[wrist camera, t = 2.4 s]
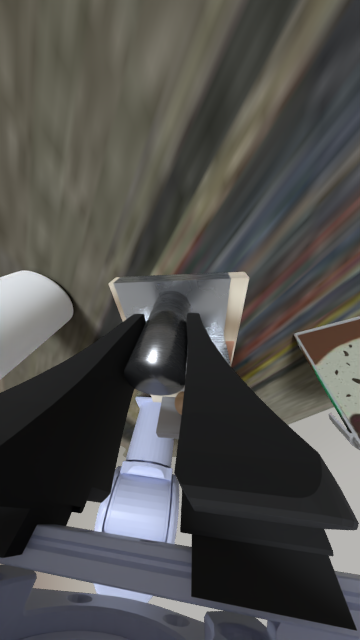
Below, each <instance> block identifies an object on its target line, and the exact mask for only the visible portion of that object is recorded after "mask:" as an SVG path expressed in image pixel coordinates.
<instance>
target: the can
mask: <svg viewBox="0 0 360 640" xmlns="http://www.w3.org/2000/svg"><path fill="white" fill-rule="evenodd" d="M72 316H73V304H72V301H71V299H70V297H69V296H68V294H67V293H66V292H65V291H64V289H63V288H62V287H61V286H59V285H58V284H57V283H56V282H54V281H53V280H51V279H50V278H48V277H46V276H43V275H41V274H38V273H35V272H31V271H19V272H15V273H12V274H9V275H6V276H3V277H0V379H2V378H3V377H4V376H5V375H6V374H7V373H9V372H10V371H11V370H12V369H13V368H15V367H16V366H17V365H18V364H19V363H20V362H22V361H23V360H24V359H25V358H26V357H27V356H29V355H30V354H31V353H32V352H33V351H34V350H36V349H37V348H38V347H39V346H40V345H41V344H43V343H44V342H45V341H46V340H47V339H48V338H50V337H51V336H52V335H53V334H54V333H55V332H56V331H58V330H59V329H60V328H61V327H62V326H63V325H65V324H66V323H67V322H68V321H69V320H70V319H71V318H72Z"/></svg>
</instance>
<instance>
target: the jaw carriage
mask: <svg viewBox="0 0 360 640" xmlns="http://www.w3.org/2000/svg"><path fill="white" fill-rule="evenodd" d="M230 282H231V278H230V276H229V274H228V272H224V273H202V274H179V275H157V276H134V277H120V278H119V279H118V280H116V281H115V282H114V283H113V284H114V287H115V289H116V292H117V295H118V298H119V301H120V303H121V306H122V309H123V312H124V315H125V317H126V319H127V318H129V317H130V316H132V315H133V314H144V316H145V320H146V324H145V326H144V328H143V330H142V332H141V335H140V337H139V339H138V341H137V343H136V346H135V348H134V350H133V352H132V354H131V357H130V359H129V361H128V363H127V366H126V368H125V370H124V377H125V379H126V381H127V382H128V383H129V384H130V385H131V386H132V387H134V388H135V389H137V390H139V391H141V392H144V393H147V394H151V395H159V396H165V395H172V394H175V393H177V392H179V391H181V390H182V389H183V387H184V386H185V377H186V368H187V356H188V338H187V322H186V319H187V313H199V314H200V317H201V320H202V323H203V325H204V327H205V329H206V331H207V333H208V335H209V336H210V338H211V340H212V341H213V343H214V345H215V346H216V348H217V349H218V351H219V352H220V353H221V355H222V356H223V357H224V359H225V360H226V361H227V363H228V364H229V365H230V359H229V355H228V350H227V346H226V342H225V337H224V328H225V320H226V313H227V305H228V298H229V290H230Z"/></svg>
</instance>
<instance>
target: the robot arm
mask: <svg viewBox="0 0 360 640" xmlns="http://www.w3.org/2000/svg"><path fill="white" fill-rule="evenodd" d="M186 322H187V338H188V356H187V368H186V378H185V388H184V397H183V407H182V416H181V424H180V432H179V440H178V449H177V457H176V464H175V472H174V473H175V475H173V474H172V468H171V462H172V453H173V443H174V439H172V438H160V437H158V436H157V434H156V429H157V424H158V418H159V413H160V407H161V402H153V400H152V398H151V397H136V398H135V400H136V402H137V404H138V406H139V407H140V411H139V415H138V418H137V422H136V426H135V429H134V433H133V436H132V440H131V443H130V447H129V450H128V454H127V457H126V461H123V464H122V466H118V467H117V468H116V462H117V457H118V453H119V448H120V443H121V439H122V434H123V430H124V425H125V421H126V417H127V413H128V409H129V405H130V402H131V398H132V394H133V391H134V387H132V386H131V385H130V384H129V383H128V382H127V381H126V379H125V377H124V370H125V368H126V366H127V363H128V361H129V359H130V357H131V354H132V352H133V350H134V348H135V346H136V343H137V341H138V339H139V337H140V335H141V332H142V330H143V328H144V326H145V324H146V320H145V316H144V314H133V315H132V316H130V317H129V318H127V319H126V320H125V321H123V322H122V323H121V324H120V325H118V326H117V327H116V328H114V329H113V330H112V331H110V332H109V333H108V334H106V335H105V336H103V337H102V338H100V339H99V340H98V341H96V342H95V343H93V344H92V345H90V346H89V347H87V348H86V349H84V350H83V351H81V352H79V353H78V354H76V355H74V356H73V357H71V358H69V359H68V360H66V361H64V362H62V363H60V364H59V365H57V366H55V367H53V368H51V369H49V370H47V371H45V372H43V373H41V374H39V375H38V376H36V377H34V378H32V379H29V380H27V381H25V382H23V383H21V384H19V385H17V386H15V387H12V388H10V389H8V390H6V391H4V392H1V393H0V563H1V564H5V565H0V640H360V575H356V574H350V573H344V572H338V571H334V569H333V566H332V564H331V561H330V559H329V556H333V550H332V548H331V545H330V543H329V540H328V538H327V535H326V533H325V530H324V529H340V530H357V528H358V524H359V523H358V521H357V519H356V517H355V515H354V513H353V511H352V509H351V508H350V506H349V504H348V502H347V500H346V498H345V496H344V495H343V492H342V490H341V489H340V487H339V485H338V484H337V482H336V481H335V479H334V477H333V475H332V474H331V472H330V471H329V469H328V467H327V466H326V464H325V463H324V461H323V459H322V458H321V456H320V454H319V453H318V452H317V451H316V450H315V449H313V448H312V447H311V446H310V445H309V444H308V443H307V442H306V441H304V440H303V439H302V438H301V437H300V436H299V435H298V434H297V433H296V432H294V431H293V430H292V429H291V428H290V427H289V426H288V425H287V424H286V423H285V422H284V421H283V420H281V419H280V418H279V417H278V416H277V415H276V414H275V413H274V412H273V411H272V410H271V409H270V408H269V407H268V406H267V405H266V404H265V403H264V402H263V401H262V400H261V399H260V398H259V397H258V396H257V395H256V394H255V393H254V392H253V391H252V390H251V389H250V388H249V387H248V386H247V384H246V383H245V382H244V381H243V380H242V379H241V378H240V377H239V376H238V375H237V373H236V372H235V371H234V370H233V369H232V368H231V366H230V365H229V364H228V363H227V361H226V360H225V359H224V357H223V356H222V355H221V353H220V352H219V351H218V349H217V348H216V346H215V345H214V343H213V341H212V340H211V338H210V336H209V335H208V333H207V331H206V329H205V327H204V325H203V323H202V320H201V317H200V314H199V313H187V319H186ZM115 468H116V469H115ZM176 477H177V478H176ZM177 479H178V480H177ZM179 484H180V486H181V488H182V507H181V527H180V530H181V532H182V533H188V534H192V547H189V546H182V545H177V544H174V543H175V542H174V541H175V537H176V530H177V522H178V509H179ZM86 501H93V502H100V503H101V504H100V507H99V511H98V514H97V518H96V523H95V529H94V531H92V530H87V529H80V528H74V527H68V526H66V525H67V522H68V520H69V517H70V515H71V512H77V513H82V511H83V509H84V507H85V504H86ZM328 555H329V556H328ZM34 571H38V572H43V573H48V574H53V575H57V576H62V577H67V578H71V579H76V580H81V581H86V582H90V583H93V584H94V587H95V590H96V592H97V594H90V593H79V592H68V591H58V590H46V589H36V588H32V587H33V585H34V583H35V580H36V578H37V577H36V573H35V572H34ZM153 596H157V597H162V598H166V599H171V600H177V601H180V602H185V603H190V604H195V605H199V606H204V607H209V608H214V609H218V610H223V611H214V612H213V611H211V612H207V613H206V615H205V617H204V623H203V622H201V621H198V620H195V619H192V618H190V617H187V616H184V615H181V614H179V613H176V612H173V611H171V610H168V609H165V608H162V607H159V606H155V605H152V604H148V602H149V600H150V599H151V598H152V597H153ZM255 617H256V618H261V619H266V620H268V622H267V628H266V627H265V626H264V625H263V624H262V623H261V622H260V621H259V620H258V619H256V618H255Z"/></svg>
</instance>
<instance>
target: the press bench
mask: <svg viewBox="0 0 360 640" xmlns="http://www.w3.org/2000/svg"><path fill="white" fill-rule="evenodd" d="M228 274H229V276H230V278H231V282H230V290H229V298H228V305H227V313H226V320H225V328H224V337H225V342H226V346H227V350H228V355H229V359H230V366H231V364H232V359H233V354H234V349H235V345H236V340H237V335H238V330H239V325H240V320H241V316H242V311H243V306H244V301H245V296H246V291H247V287H248V282H249V277H248V276H247V275H246V273H245V272H229V273H228ZM119 278H120V277H116V278H115V279H113V280H112V281H111V282H110V283H109V286H110V289H111V291H112V294H113V297H114V299H115V302H116V305H117V307H118V310H119V313H120V315H121V318H122V321H125V320H126V317H125V315H124V312H123V309H122V306H121V303H120V301H119V298H118V295H117V292H116V289H115V287H114V284H113V283H114V282H115V281H116V280H118V279H119ZM185 378H186V377H185ZM184 388H185V386H184V387H183V389H182V390H181V391H179V392H177V393H175V394H172V395H165V396H159V395H151V394H150V395H151V398H152V400H153V402H161V407H160V413H159V418H158V424H157V429H156V434H157V436H158V437H160V438H172V439H179V432H180V424H181V416H182V407H183V397H184Z"/></svg>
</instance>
